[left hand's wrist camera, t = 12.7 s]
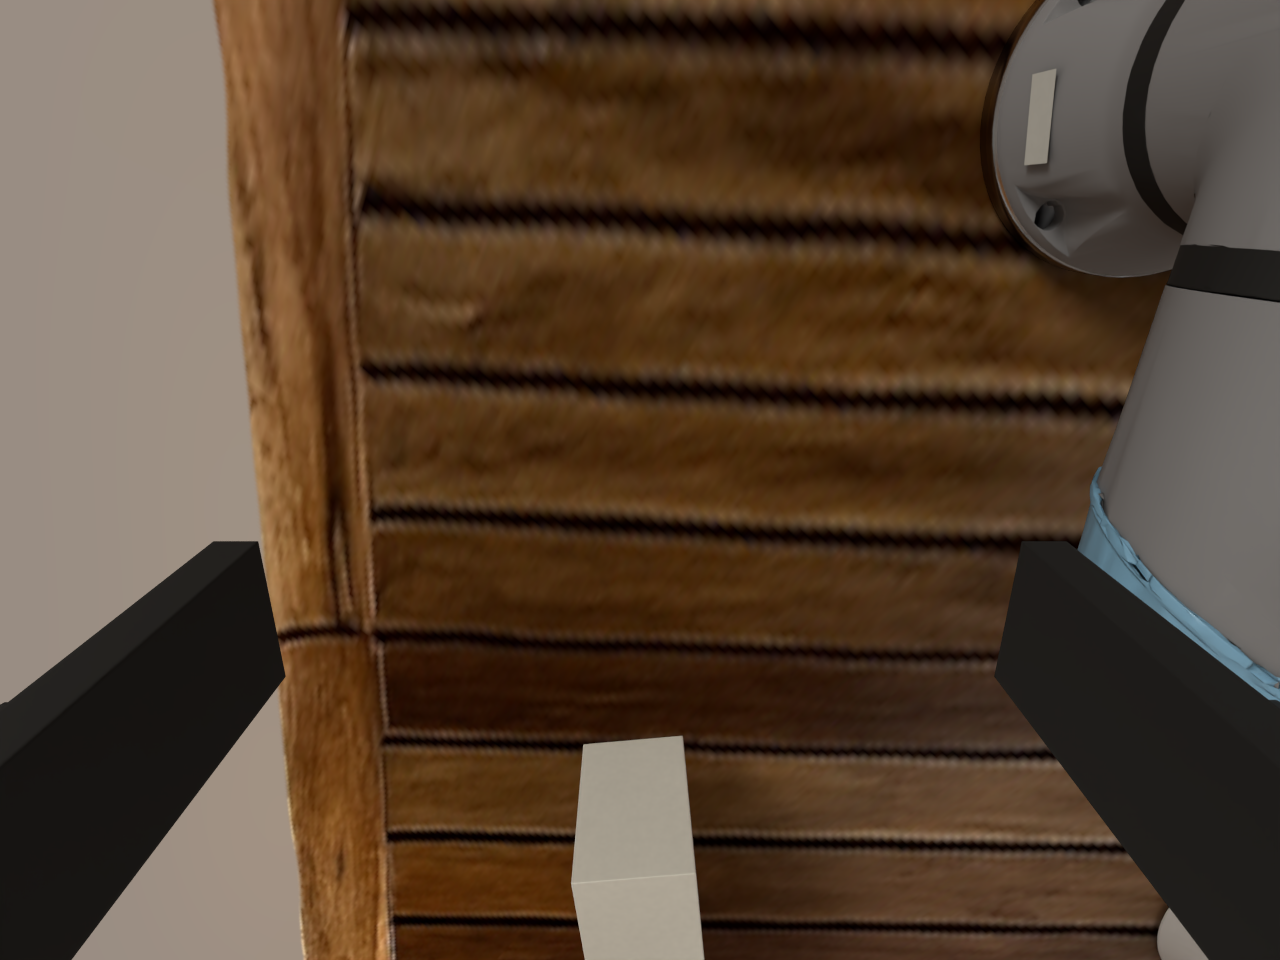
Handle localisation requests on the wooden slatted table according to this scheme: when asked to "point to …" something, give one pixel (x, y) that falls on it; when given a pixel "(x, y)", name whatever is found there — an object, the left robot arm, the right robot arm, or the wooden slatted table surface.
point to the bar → (636, 853)
